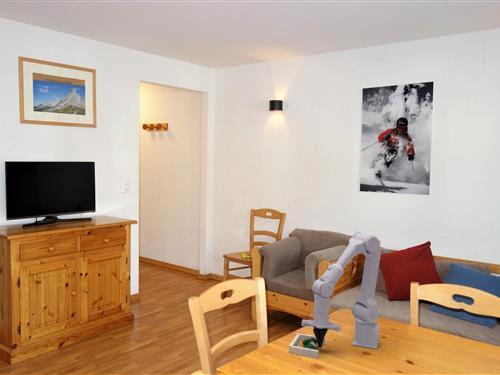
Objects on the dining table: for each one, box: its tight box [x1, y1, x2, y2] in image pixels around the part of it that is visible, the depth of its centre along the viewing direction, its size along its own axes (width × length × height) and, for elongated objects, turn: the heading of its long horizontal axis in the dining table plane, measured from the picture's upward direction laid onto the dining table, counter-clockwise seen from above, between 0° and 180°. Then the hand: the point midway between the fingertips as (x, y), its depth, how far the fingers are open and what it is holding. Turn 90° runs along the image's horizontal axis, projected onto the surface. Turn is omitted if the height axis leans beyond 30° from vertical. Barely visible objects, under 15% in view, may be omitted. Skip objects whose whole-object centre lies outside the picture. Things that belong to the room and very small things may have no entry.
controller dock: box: [288, 333, 326, 359], centre depth 173 cm, size 11×14×2 cm
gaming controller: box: [301, 335, 318, 350], centre depth 172 cm, size 9×4×6 cm
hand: (320, 346), depth 171 cm, fingers closed
